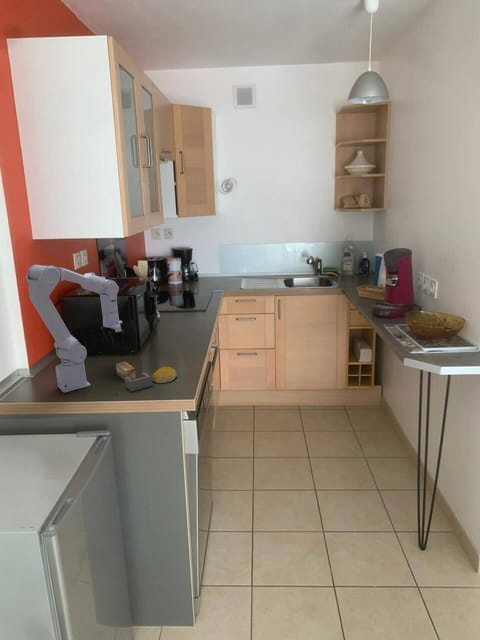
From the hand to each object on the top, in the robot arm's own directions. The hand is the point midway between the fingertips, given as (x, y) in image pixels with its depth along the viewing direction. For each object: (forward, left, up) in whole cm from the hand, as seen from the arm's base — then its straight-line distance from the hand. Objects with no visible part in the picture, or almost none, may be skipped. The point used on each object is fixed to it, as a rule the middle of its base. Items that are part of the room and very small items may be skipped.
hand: (114, 346), depth 178 cm
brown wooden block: (0, -10, -10) cm, 14 cm away
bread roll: (+10, -21, -10) cm, 25 cm away
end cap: (0, -22, -9) cm, 24 cm away
